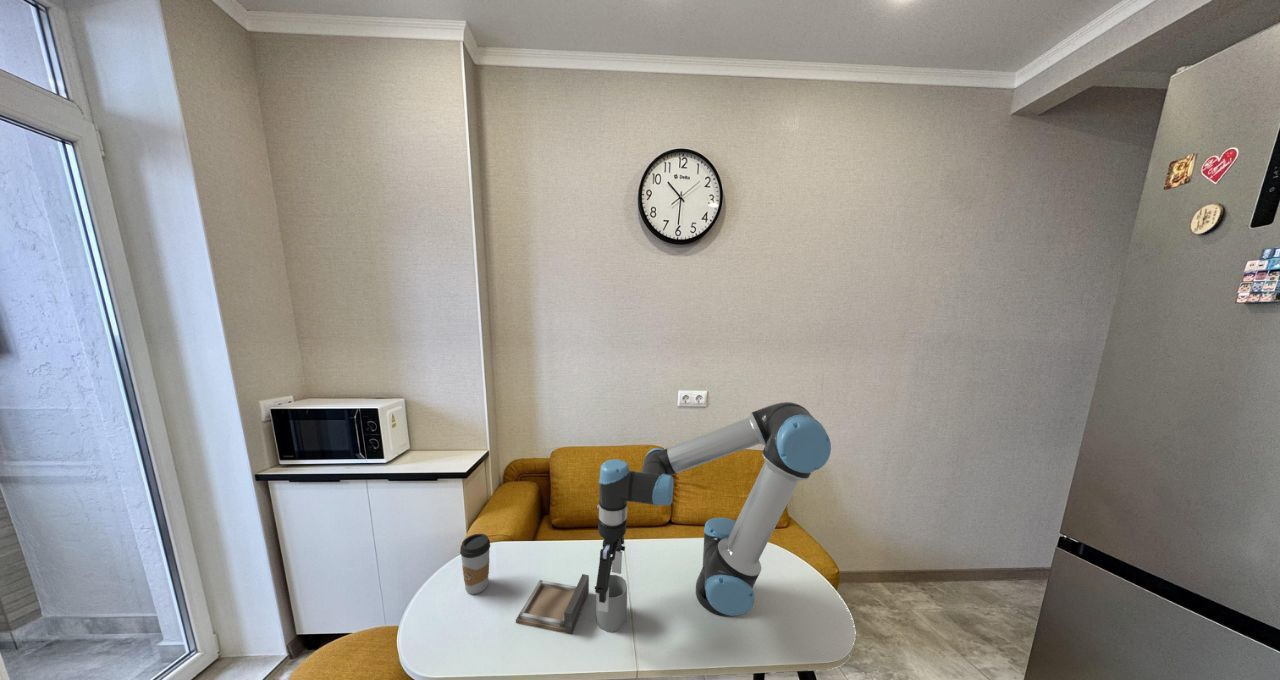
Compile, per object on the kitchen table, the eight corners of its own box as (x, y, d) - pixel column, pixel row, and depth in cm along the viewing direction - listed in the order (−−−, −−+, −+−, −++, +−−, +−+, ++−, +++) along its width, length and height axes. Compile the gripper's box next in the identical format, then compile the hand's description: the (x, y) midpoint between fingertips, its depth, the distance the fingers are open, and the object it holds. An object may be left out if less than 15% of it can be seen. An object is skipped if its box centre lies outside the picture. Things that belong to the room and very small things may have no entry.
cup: (622, 634, 100) (622, 600, 99) (592, 628, 102) (592, 595, 100) (629, 609, 108) (629, 577, 107) (601, 603, 110) (602, 572, 109)
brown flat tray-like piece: (588, 593, 114) (588, 575, 113) (571, 634, 100) (571, 614, 99) (539, 584, 117) (539, 566, 116) (515, 622, 103) (515, 603, 102)
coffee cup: (455, 592, 113) (453, 546, 111) (476, 573, 121) (475, 529, 119) (476, 601, 110) (475, 554, 108) (497, 581, 117) (496, 536, 116)
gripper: (611, 492, 114) (609, 556, 117) (583, 546, 90) (581, 626, 93) (635, 496, 113) (633, 561, 115) (613, 551, 88) (611, 632, 91)
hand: (610, 590), depth 104 cm, fingers open, 13 cm apart
